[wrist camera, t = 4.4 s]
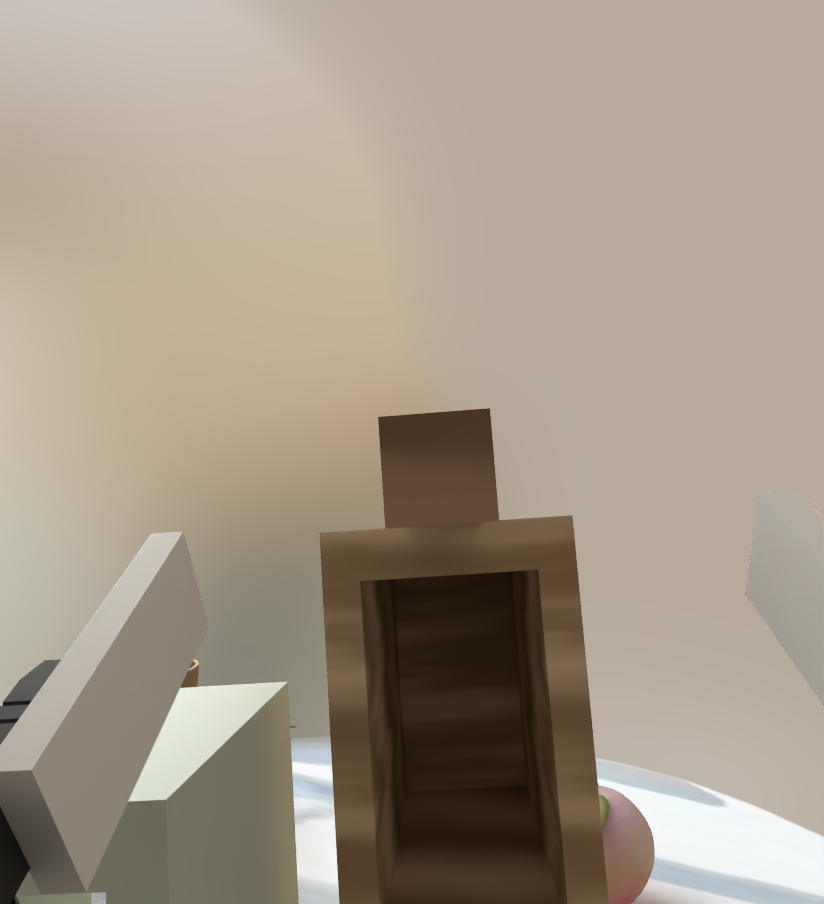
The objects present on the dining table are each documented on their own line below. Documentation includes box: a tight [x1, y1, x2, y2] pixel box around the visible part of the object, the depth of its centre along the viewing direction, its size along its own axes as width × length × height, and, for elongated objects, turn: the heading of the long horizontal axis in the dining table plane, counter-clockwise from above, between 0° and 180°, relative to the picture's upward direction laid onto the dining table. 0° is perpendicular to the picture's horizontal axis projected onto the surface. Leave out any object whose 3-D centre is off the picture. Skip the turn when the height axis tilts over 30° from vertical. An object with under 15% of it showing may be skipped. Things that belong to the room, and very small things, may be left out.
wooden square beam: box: [378, 409, 499, 529], centre depth 30 cm, size 24×3×3 cm, turn 177°
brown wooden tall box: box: [320, 516, 609, 904], centre depth 33 cm, size 16×10×30 cm, turn 177°
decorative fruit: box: [598, 786, 654, 904], centre depth 52 cm, size 9×8×10 cm
